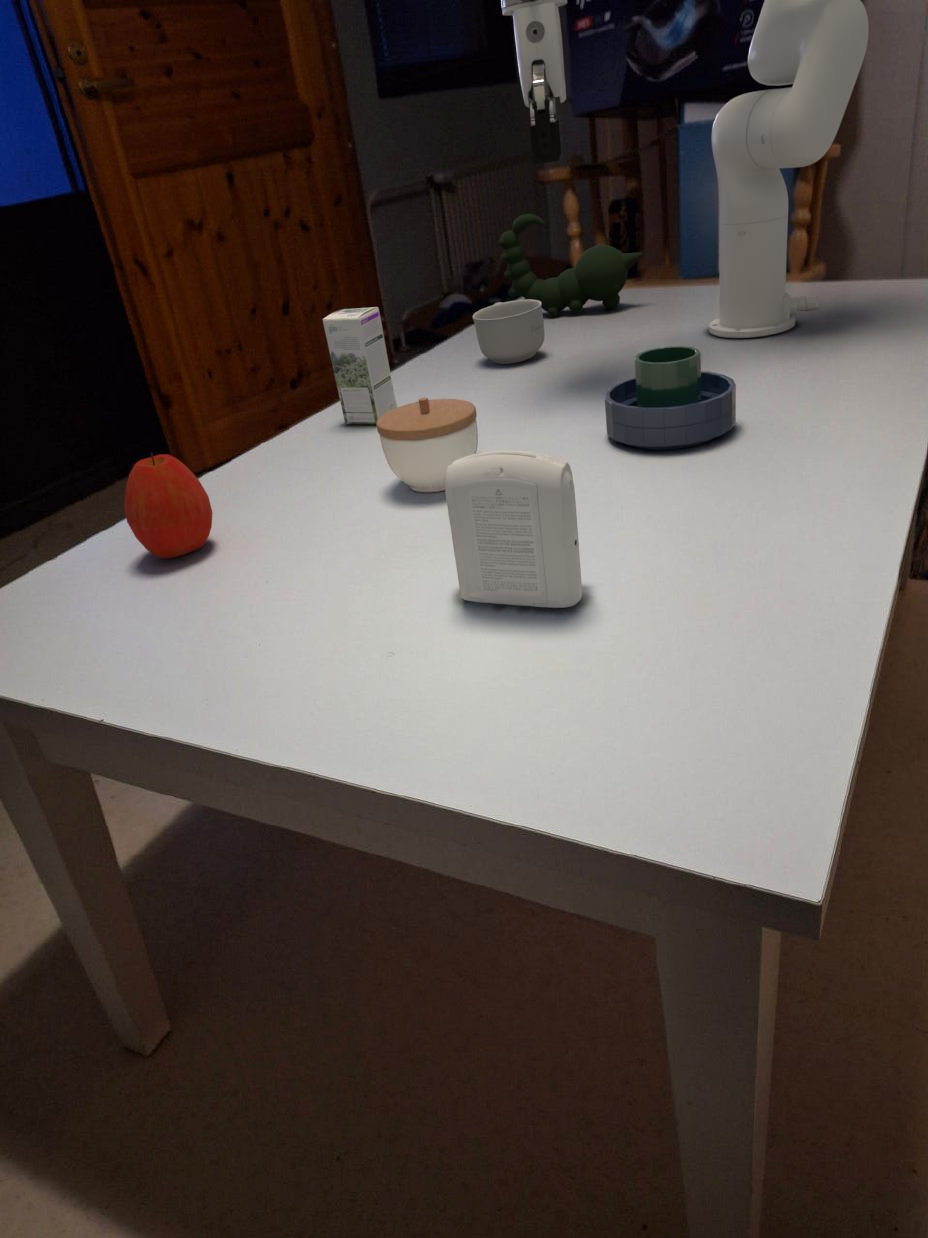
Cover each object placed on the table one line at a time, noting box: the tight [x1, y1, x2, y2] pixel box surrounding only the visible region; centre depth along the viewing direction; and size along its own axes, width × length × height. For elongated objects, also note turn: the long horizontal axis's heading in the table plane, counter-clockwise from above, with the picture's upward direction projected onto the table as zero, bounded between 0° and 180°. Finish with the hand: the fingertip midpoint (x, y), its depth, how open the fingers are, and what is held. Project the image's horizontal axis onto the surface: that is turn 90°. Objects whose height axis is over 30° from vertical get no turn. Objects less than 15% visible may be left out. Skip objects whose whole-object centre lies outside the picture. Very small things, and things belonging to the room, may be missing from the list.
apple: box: [123, 452, 213, 560], centre depth 90 cm, size 8×8×11 cm
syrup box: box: [322, 306, 398, 425], centre depth 121 cm, size 6×6×14 cm
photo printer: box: [444, 449, 583, 609], centre depth 70 cm, size 10×4×12 cm, turn 69°
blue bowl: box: [603, 370, 737, 450], centre depth 101 cm, size 14×14×5 cm
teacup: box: [472, 298, 545, 365], centre depth 142 cm, size 14×11×8 cm
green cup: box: [633, 345, 702, 408], centre depth 100 cm, size 7×7×8 cm
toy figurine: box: [497, 213, 644, 318], centre depth 162 cm, size 9×19×25 cm
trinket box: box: [375, 396, 479, 494], centre depth 97 cm, size 11×11×9 cm
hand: (547, 159), depth 111 cm, fingers open, 9 cm apart
